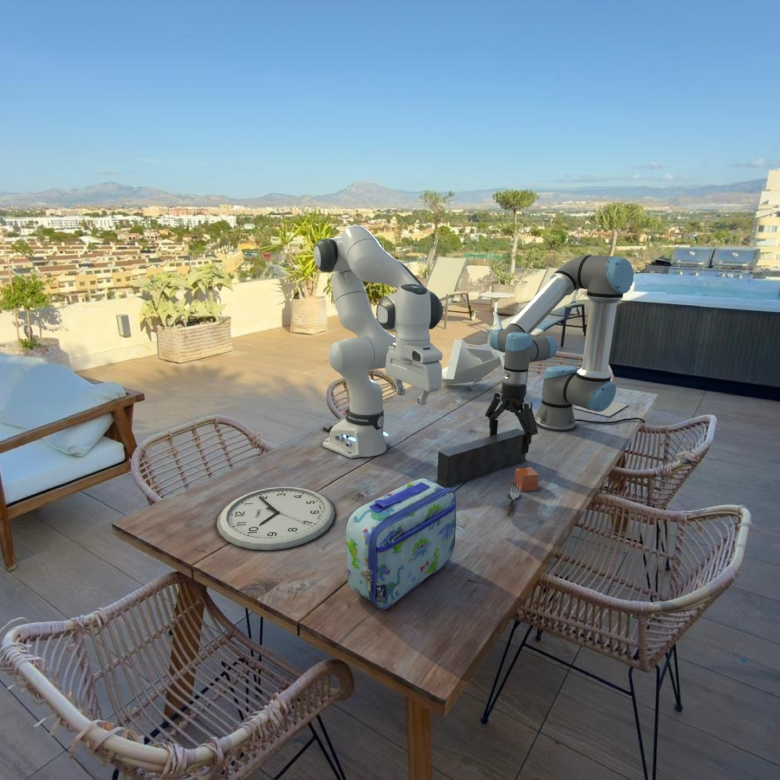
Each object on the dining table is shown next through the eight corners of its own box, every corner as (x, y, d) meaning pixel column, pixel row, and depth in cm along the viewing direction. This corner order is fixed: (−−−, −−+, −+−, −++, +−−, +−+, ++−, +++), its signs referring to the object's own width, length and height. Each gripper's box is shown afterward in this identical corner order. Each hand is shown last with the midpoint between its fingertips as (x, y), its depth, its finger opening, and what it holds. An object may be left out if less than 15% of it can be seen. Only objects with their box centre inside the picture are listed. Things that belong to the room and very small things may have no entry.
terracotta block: (529, 482, 158) (530, 467, 156) (537, 490, 153) (538, 474, 152) (513, 483, 157) (515, 468, 155) (521, 491, 152) (523, 476, 151)
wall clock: (333, 542, 123) (202, 546, 121) (333, 547, 124) (203, 552, 121) (335, 482, 152) (229, 485, 149) (335, 487, 152) (230, 490, 150)
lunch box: (375, 622, 100) (376, 527, 94) (339, 595, 108) (338, 505, 101) (459, 565, 118) (465, 481, 112) (424, 545, 125) (427, 465, 119)
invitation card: (608, 416, 214) (573, 407, 224) (608, 416, 214) (573, 408, 224) (628, 404, 229) (594, 396, 238) (628, 405, 229) (594, 397, 238)
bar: (514, 455, 176) (517, 428, 173) (525, 460, 172) (527, 432, 169) (436, 481, 157) (438, 451, 154) (446, 487, 154) (448, 456, 151)
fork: (503, 516, 138) (503, 510, 138) (511, 489, 153) (511, 483, 152) (513, 518, 137) (513, 511, 137) (520, 491, 152) (520, 485, 151)
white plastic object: (461, 429, 252) (437, 405, 227) (444, 352, 274) (420, 323, 250) (535, 404, 240) (518, 377, 215) (510, 326, 262) (492, 293, 237)
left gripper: (380, 342, 142) (379, 391, 146) (427, 358, 126) (425, 412, 130) (399, 340, 145) (397, 387, 149) (447, 355, 129) (444, 407, 133)
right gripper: (477, 375, 170) (472, 435, 177) (538, 395, 151) (530, 462, 157) (494, 372, 175) (488, 431, 181) (555, 391, 155) (546, 457, 161)
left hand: (410, 399), depth 140 cm, fingers open, 8 cm apart
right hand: (508, 445), depth 169 cm, fingers open, 13 cm apart
